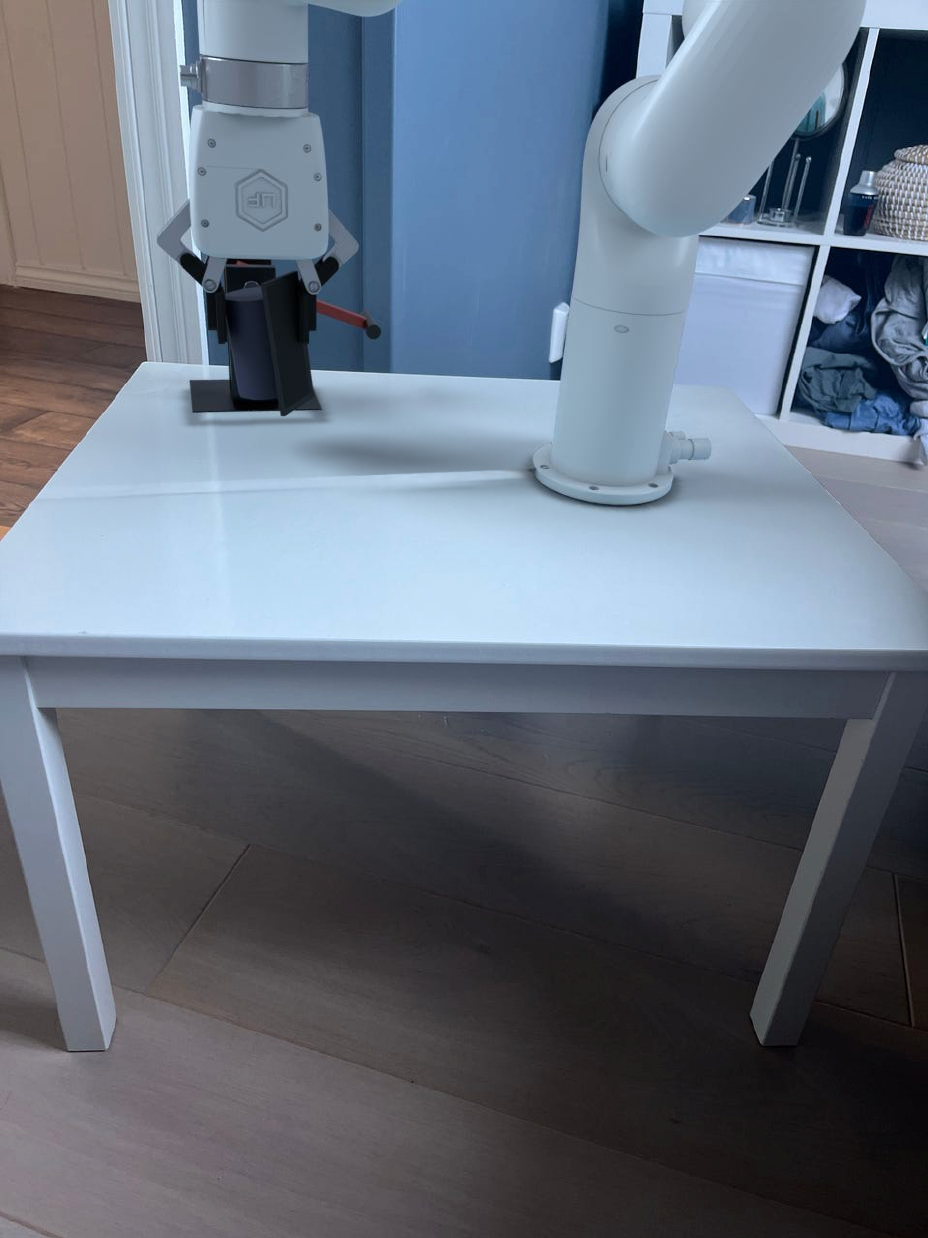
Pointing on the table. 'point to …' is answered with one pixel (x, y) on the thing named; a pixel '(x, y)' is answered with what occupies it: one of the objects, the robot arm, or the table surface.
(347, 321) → the lever
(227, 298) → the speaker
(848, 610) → the table surface
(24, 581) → the table surface
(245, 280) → the bracket
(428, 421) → the table surface
